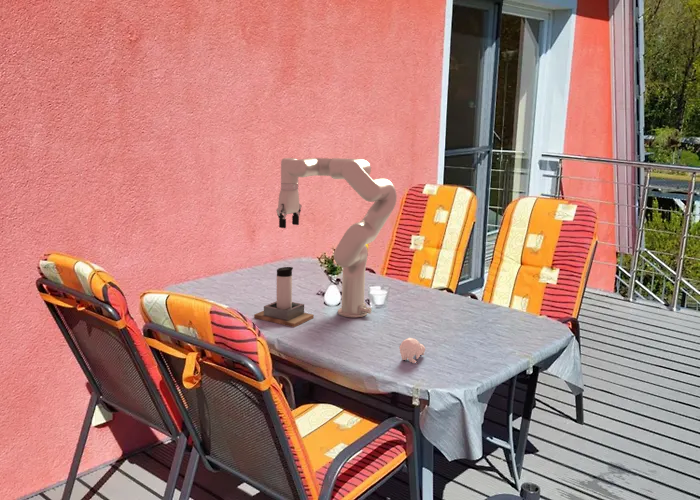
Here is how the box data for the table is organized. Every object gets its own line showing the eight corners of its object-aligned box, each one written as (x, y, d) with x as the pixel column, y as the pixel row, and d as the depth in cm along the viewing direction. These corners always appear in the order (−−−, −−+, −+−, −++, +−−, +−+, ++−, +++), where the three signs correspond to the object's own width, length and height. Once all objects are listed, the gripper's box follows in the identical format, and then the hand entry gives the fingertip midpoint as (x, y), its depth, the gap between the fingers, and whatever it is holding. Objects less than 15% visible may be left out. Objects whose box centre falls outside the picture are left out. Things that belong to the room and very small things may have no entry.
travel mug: (290, 317, 274) (290, 269, 270) (274, 315, 275) (274, 268, 272) (294, 312, 280) (294, 266, 276) (278, 311, 282) (279, 265, 278)
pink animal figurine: (398, 337, 233) (416, 332, 243) (396, 361, 235) (414, 355, 244) (414, 342, 230) (431, 336, 239) (411, 366, 231) (429, 359, 241)
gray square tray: (304, 313, 280) (304, 304, 279) (287, 321, 270) (287, 311, 269) (280, 308, 286) (280, 299, 285) (263, 315, 276) (263, 306, 275)
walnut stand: (313, 318, 279) (313, 314, 279) (294, 327, 267) (294, 323, 267) (274, 309, 289) (274, 306, 289) (254, 318, 277) (254, 314, 277)
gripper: (293, 184, 299) (293, 222, 303) (270, 188, 284) (270, 228, 288) (307, 186, 295) (307, 224, 299) (284, 189, 281) (284, 230, 284)
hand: (289, 226), depth 294 cm, fingers open, 9 cm apart
